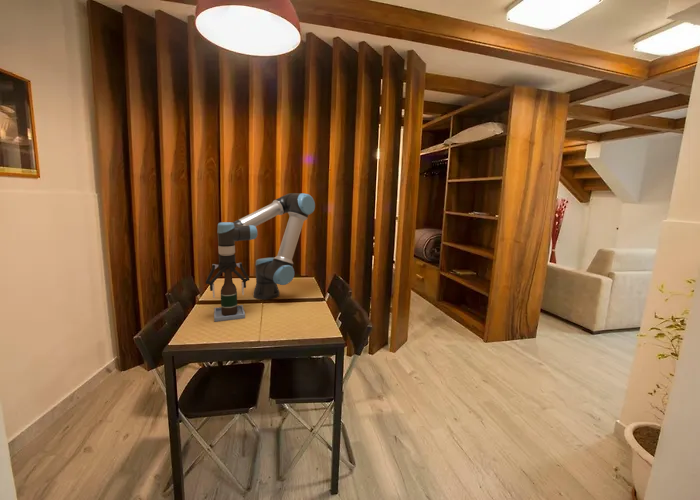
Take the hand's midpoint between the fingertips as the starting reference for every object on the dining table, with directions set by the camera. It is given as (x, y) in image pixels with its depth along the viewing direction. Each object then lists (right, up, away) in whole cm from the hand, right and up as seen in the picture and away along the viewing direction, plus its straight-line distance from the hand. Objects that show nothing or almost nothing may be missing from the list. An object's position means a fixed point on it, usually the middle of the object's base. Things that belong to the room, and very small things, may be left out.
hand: (228, 295), depth 156 cm
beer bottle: (0, -10, +2) cm, 10 cm away
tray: (0, -10, +2) cm, 10 cm away
